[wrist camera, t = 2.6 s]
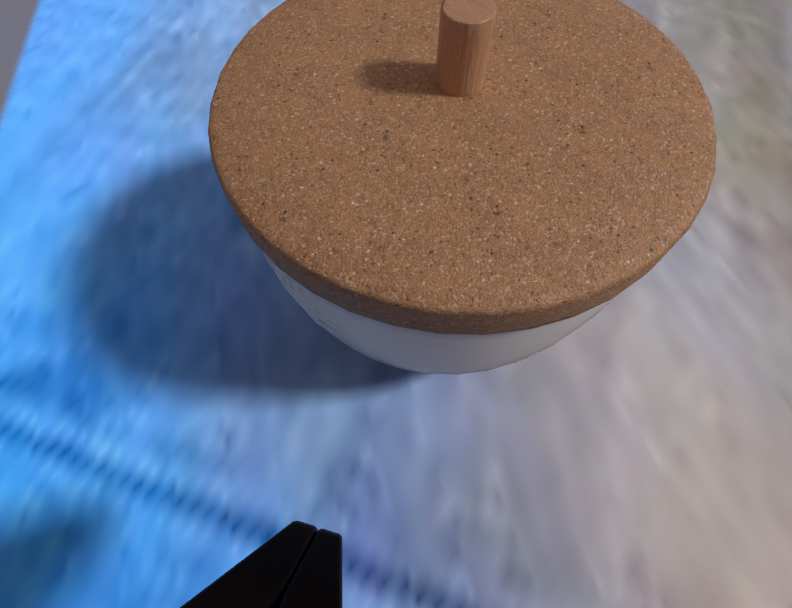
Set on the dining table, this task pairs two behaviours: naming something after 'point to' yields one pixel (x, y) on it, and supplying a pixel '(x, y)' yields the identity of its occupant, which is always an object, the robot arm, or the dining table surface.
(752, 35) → the dining table surface
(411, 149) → the lidded bowl
